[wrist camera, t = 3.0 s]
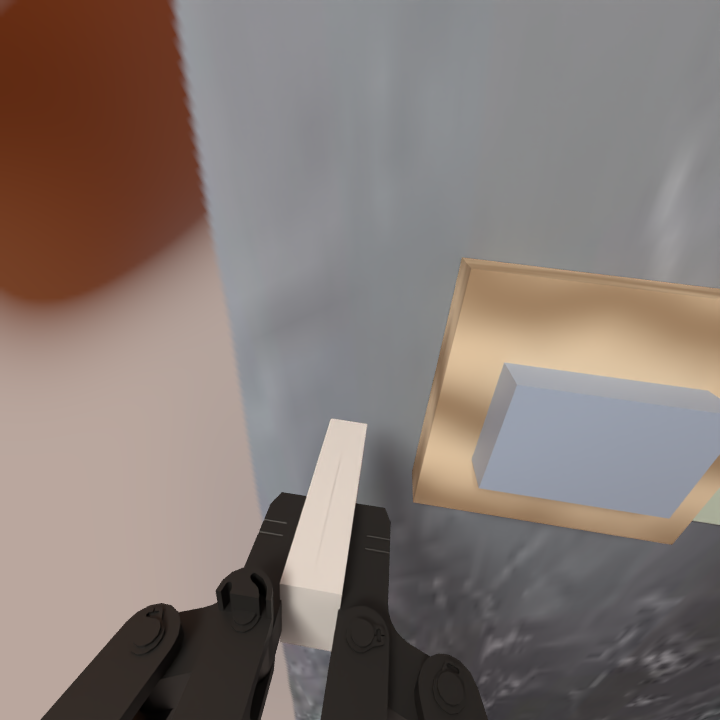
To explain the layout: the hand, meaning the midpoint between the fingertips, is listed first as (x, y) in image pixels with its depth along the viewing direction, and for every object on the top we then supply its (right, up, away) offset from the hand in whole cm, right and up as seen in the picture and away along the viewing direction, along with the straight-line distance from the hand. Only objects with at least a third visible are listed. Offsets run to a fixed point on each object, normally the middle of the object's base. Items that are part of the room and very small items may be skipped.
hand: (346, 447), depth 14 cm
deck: (+12, +1, +5) cm, 13 cm away
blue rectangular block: (+11, 0, +2) cm, 12 cm away
